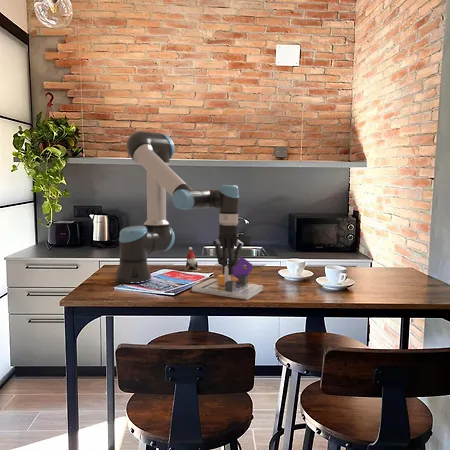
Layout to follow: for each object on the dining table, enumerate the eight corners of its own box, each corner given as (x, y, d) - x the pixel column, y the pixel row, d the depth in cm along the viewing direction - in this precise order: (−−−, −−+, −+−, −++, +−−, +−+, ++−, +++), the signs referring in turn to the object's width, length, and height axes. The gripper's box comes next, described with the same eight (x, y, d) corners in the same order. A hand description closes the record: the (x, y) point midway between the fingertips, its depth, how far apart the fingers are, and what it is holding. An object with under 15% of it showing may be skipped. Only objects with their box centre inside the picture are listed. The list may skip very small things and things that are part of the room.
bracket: (244, 279, 177) (254, 266, 178) (231, 269, 177) (241, 256, 179) (240, 281, 189) (250, 268, 190) (228, 271, 189) (237, 259, 191)
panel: (192, 291, 170) (192, 277, 170) (211, 283, 184) (211, 270, 184) (247, 299, 160) (247, 285, 159) (263, 290, 174) (263, 276, 173)
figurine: (198, 265, 203) (183, 247, 208) (188, 279, 207) (173, 261, 212) (209, 262, 210) (194, 245, 214) (198, 276, 214) (184, 259, 219)
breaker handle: (217, 284, 172) (217, 276, 172) (220, 282, 175) (220, 274, 175) (224, 285, 171) (224, 276, 171) (227, 283, 174) (227, 275, 173)
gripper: (209, 223, 169) (208, 282, 171) (239, 226, 163) (238, 286, 166) (218, 222, 175) (217, 278, 178) (247, 224, 170) (246, 282, 172)
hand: (227, 282), depth 172 cm, fingers closed
